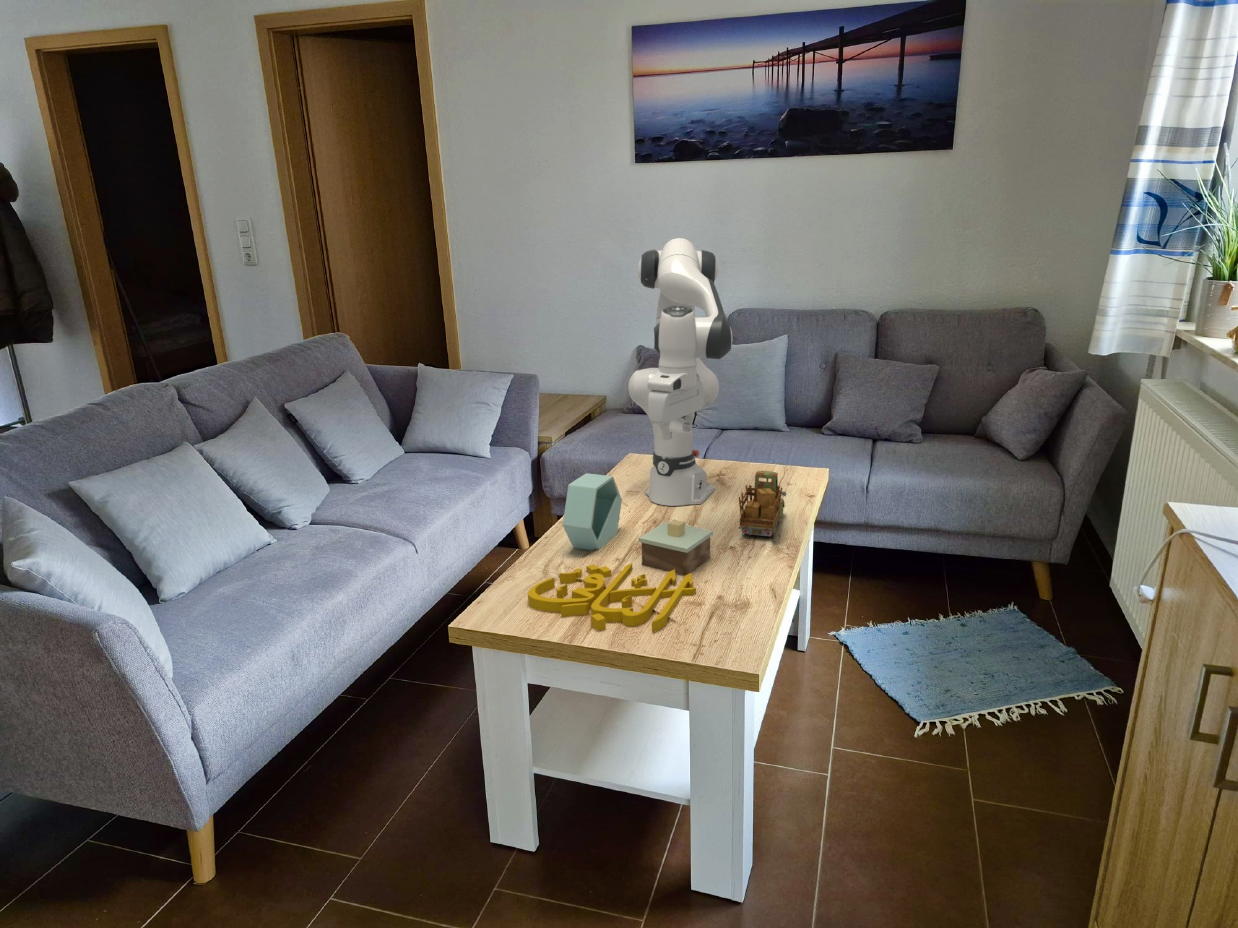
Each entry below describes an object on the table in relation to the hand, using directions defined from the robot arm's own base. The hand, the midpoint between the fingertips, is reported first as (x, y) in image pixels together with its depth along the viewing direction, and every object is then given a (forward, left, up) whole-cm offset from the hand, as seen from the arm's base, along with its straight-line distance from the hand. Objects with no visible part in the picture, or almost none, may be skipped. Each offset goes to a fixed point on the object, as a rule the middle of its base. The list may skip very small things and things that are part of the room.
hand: (677, 435), depth 202 cm
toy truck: (-28, +10, -31) cm, 43 cm away
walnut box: (+5, +3, -31) cm, 32 cm away
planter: (+4, -22, -31) cm, 38 cm away
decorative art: (+28, 0, -32) cm, 42 cm away
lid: (+5, +3, -24) cm, 25 cm away
